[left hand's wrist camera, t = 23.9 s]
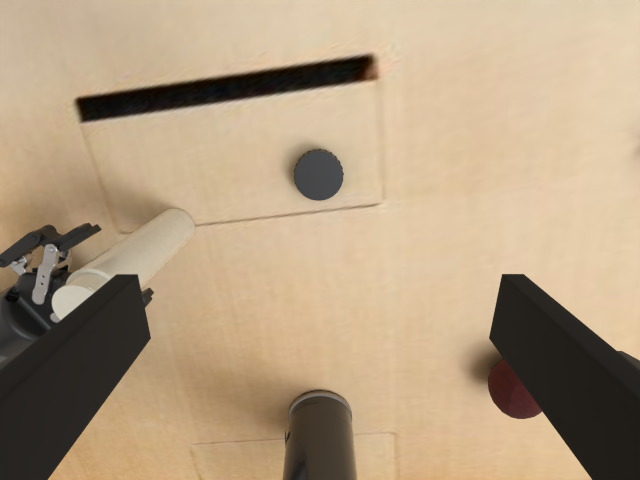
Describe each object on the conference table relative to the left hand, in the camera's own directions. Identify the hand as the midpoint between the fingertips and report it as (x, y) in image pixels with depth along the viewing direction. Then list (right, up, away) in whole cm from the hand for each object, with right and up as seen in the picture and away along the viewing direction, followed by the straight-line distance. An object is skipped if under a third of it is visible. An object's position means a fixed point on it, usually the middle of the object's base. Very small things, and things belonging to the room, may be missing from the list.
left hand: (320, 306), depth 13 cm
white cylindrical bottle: (-17, +4, +29) cm, 34 cm away
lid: (0, +9, +25) cm, 27 cm away
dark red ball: (+26, -15, +37) cm, 48 cm away
